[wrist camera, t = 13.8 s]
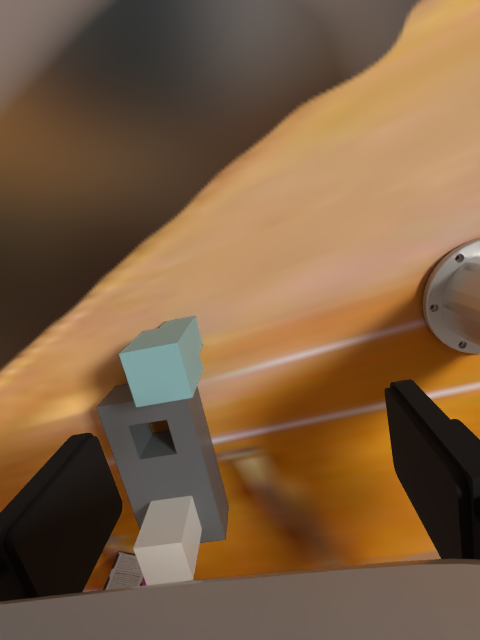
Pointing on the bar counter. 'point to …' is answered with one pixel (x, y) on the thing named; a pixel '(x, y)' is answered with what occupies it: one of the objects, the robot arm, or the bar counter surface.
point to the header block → (167, 481)
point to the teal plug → (164, 362)
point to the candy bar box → (125, 572)
